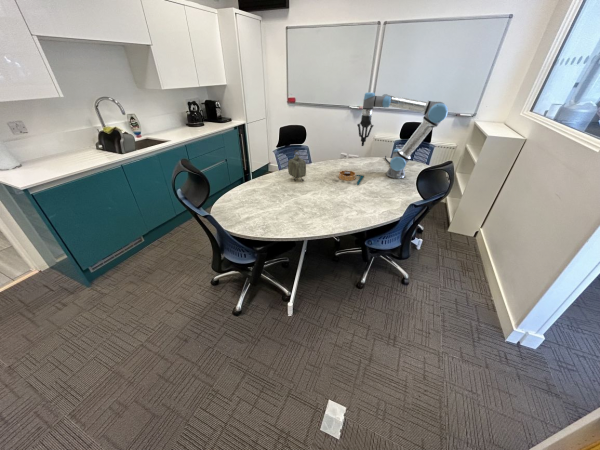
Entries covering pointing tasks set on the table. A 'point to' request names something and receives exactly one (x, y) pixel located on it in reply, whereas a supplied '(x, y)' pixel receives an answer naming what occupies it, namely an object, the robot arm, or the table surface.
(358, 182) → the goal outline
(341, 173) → the bowl
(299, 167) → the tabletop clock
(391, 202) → the table surface
